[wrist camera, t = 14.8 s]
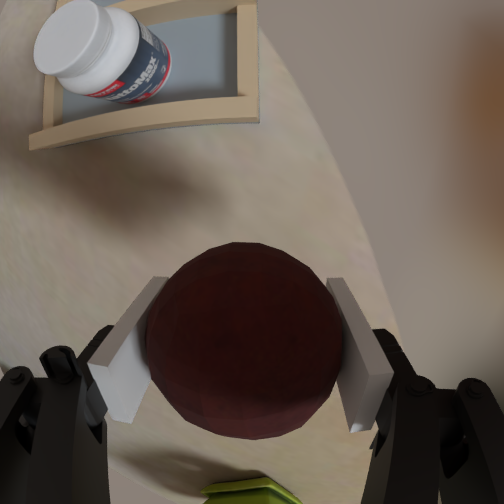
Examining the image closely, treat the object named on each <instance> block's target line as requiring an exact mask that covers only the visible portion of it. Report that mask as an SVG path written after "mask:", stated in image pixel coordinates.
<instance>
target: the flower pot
mask: <svg viewBox="0 0 504 504" xmlns="http://www.w3.org/2000/svg"><path fill="white" fill-rule="evenodd" d="M200 492H201V493H202V494H203V495H205V496H207V497H208V498H209V499H208V500H207V501H205V502H204V503H203V504H303V503H302V502H301V501H300V500H299V499H298V498H297V497H295V496H294V495H293V494H291V493H290V492H288V491H287V490H285V489H284V488H283V487H281V486H280V485H278V484H277V483H275V482H274V481H272V480H271V479H269V478H267V477H262V478H257V479H250V480H243V481H237V482H227V483H215V484H212V485H209V486H207V487H205V488H203V489H202V490H201V491H200Z"/></svg>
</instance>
